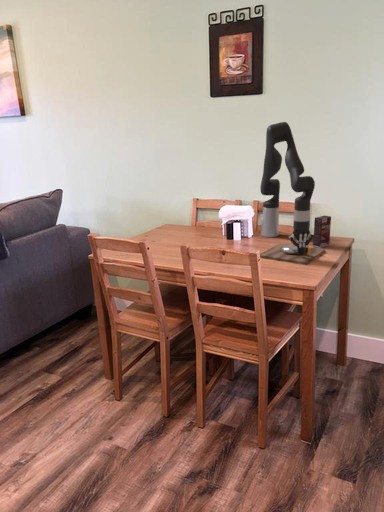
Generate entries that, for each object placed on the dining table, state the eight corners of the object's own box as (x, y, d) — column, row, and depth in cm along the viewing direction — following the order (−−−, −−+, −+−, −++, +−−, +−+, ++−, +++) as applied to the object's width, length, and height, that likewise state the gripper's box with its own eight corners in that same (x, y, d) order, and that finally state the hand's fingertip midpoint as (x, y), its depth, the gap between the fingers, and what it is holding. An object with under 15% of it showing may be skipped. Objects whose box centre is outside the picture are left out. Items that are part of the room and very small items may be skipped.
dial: (277, 251, 215) (278, 243, 214) (290, 247, 221) (290, 240, 220) (302, 257, 204) (303, 249, 203) (315, 253, 209) (316, 245, 208)
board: (258, 257, 213) (258, 253, 212) (280, 245, 232) (280, 242, 231) (306, 264, 198) (306, 261, 198) (325, 251, 217) (325, 248, 217)
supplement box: (320, 248, 223) (321, 218, 219) (312, 246, 227) (313, 217, 222) (330, 245, 228) (331, 216, 224) (322, 243, 232) (323, 215, 227)
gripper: (292, 222, 196) (291, 257, 201) (318, 219, 199) (316, 255, 204) (285, 218, 203) (284, 253, 208) (310, 216, 206) (309, 250, 211)
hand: (300, 254), depth 206 cm, fingers closed
